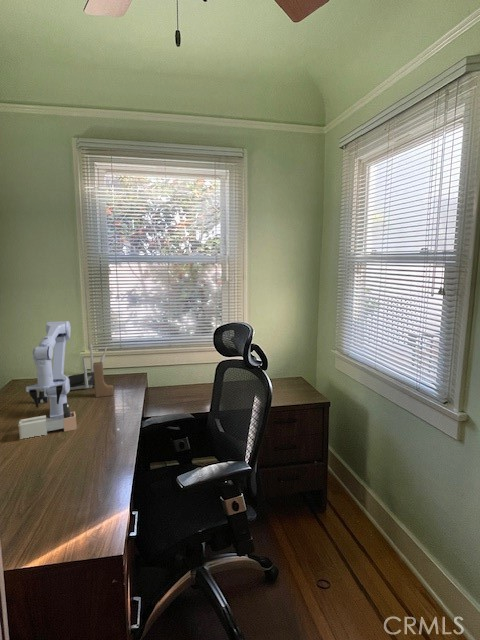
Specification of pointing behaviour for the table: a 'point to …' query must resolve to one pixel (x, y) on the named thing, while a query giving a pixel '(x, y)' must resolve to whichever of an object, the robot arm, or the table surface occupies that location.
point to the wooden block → (101, 381)
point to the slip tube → (58, 419)
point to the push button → (42, 396)
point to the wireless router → (84, 375)
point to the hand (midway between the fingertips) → (47, 404)
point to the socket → (70, 422)
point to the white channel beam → (32, 427)
